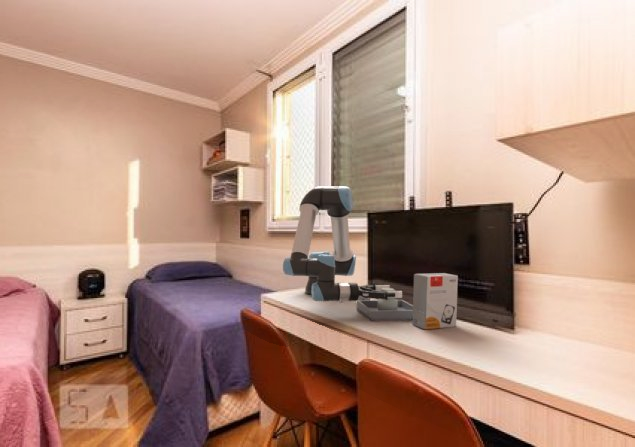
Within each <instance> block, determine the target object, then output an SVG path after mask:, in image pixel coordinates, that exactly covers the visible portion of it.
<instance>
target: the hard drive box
mask: <svg viewBox="0 0 635 447" xmlns="http://www.w3.org/2000/svg"><path fill="white" fill-rule="evenodd" d="M458 278H459V276H458V275H457V274H450V273H446V272H442V273H441V272H439V273H438V272H436V273H435V272H433V273H431V272H430V273H414V274H413V296H412V297H413V298H412V299H413V300H412V305H413V320H412V322H411V323H412V325H413V326H416V327H418V328H420V329H423V330H434V329H442V328H443V329H444V328H453V327H454V326H455V327H457V314H458V313H457V310H458V282H459V280H458Z"/></svg>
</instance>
